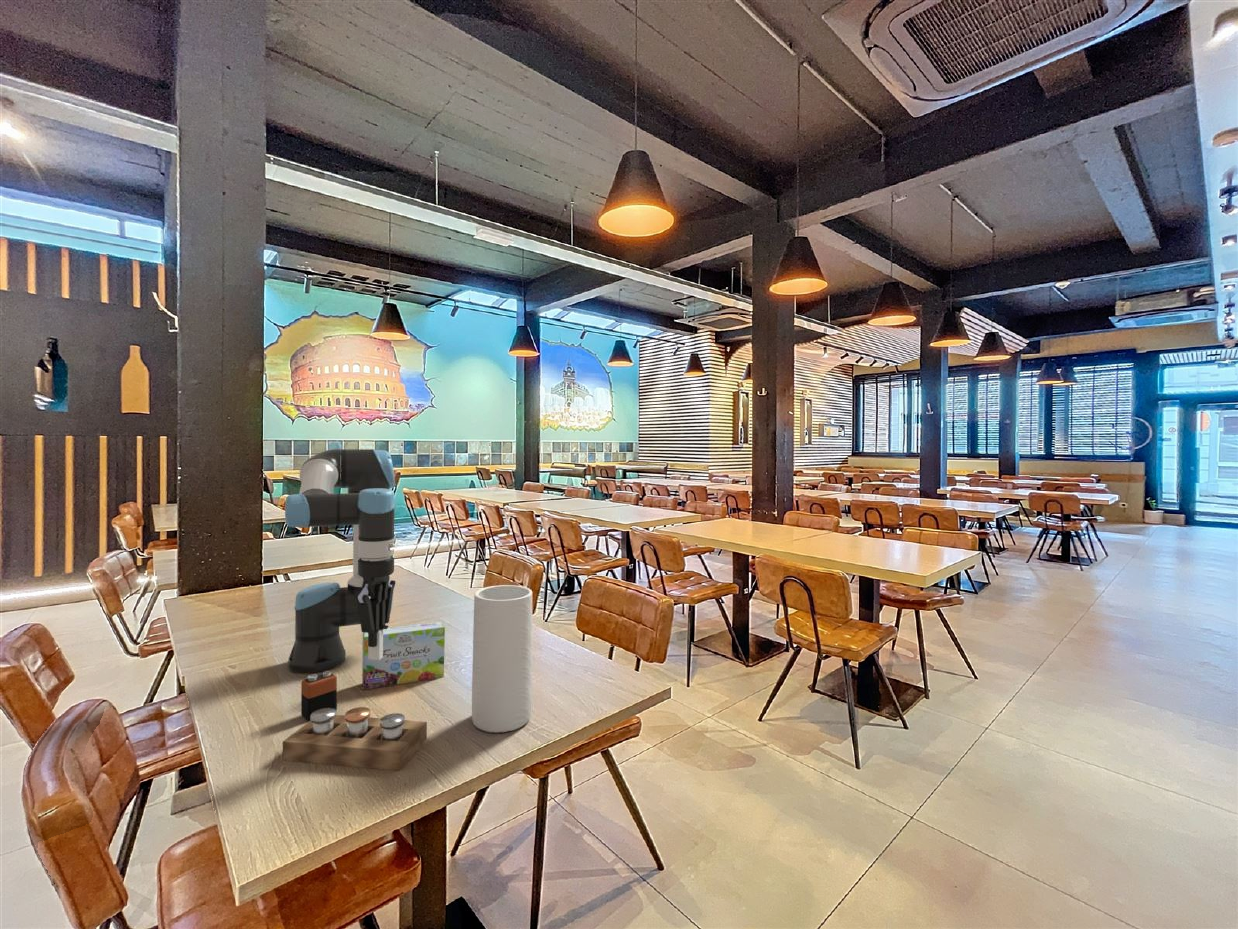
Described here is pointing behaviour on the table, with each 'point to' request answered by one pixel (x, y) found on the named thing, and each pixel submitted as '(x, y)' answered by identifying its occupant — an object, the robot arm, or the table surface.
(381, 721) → the plug
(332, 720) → the plug
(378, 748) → the wooden jar holder
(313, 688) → the battery
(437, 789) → the table surface
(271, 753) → the table surface
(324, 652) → the robot arm
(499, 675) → the vase
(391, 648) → the snack box
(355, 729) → the plug mid
